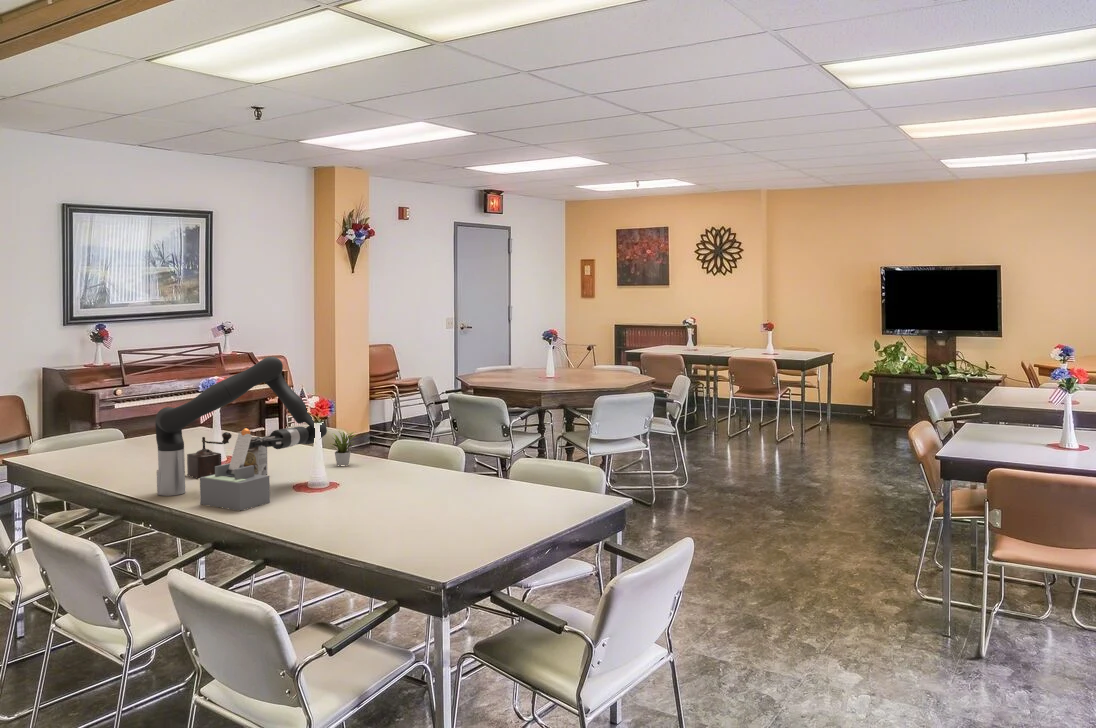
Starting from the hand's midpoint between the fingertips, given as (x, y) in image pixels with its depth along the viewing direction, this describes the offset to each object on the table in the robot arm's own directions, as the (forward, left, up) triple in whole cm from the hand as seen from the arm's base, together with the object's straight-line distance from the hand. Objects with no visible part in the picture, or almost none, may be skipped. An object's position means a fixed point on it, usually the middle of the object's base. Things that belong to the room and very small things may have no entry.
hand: (251, 444), depth 303 cm
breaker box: (-5, -7, -21) cm, 22 cm away
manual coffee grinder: (-28, +46, -21) cm, 58 cm away
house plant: (+27, +60, -21) cm, 69 cm away
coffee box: (-9, +42, -21) cm, 48 cm away
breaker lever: (-5, -7, -10) cm, 13 cm away
